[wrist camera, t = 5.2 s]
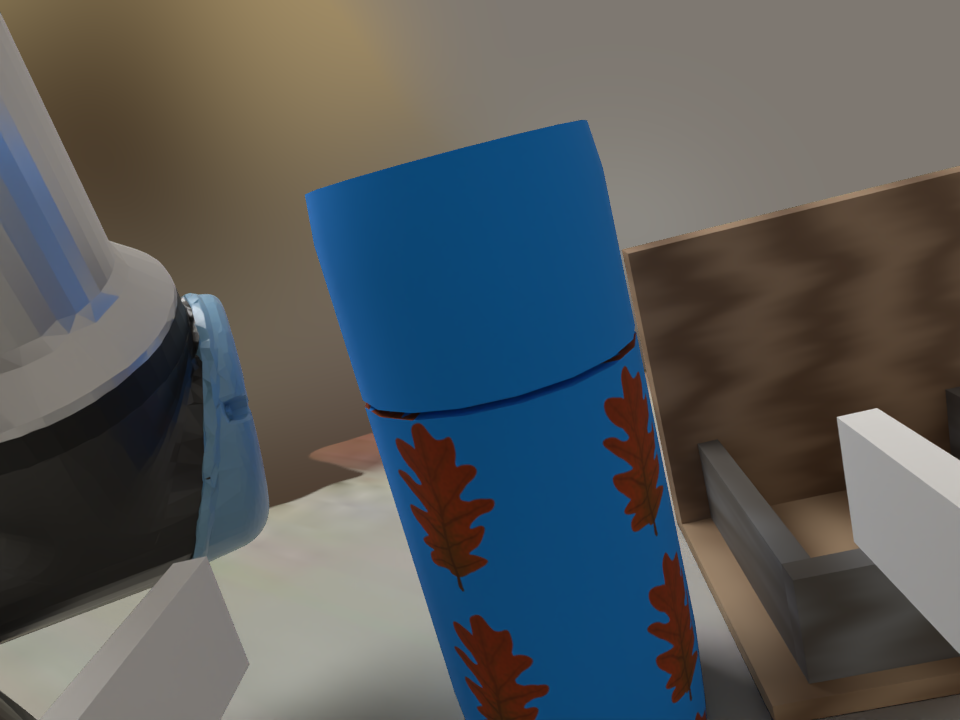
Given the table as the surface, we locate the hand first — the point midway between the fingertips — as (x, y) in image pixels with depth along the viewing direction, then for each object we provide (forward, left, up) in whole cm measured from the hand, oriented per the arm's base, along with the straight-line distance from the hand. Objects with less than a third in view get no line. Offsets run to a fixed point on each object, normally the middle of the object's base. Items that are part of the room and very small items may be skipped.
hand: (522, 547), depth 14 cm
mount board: (+16, +20, -17) cm, 31 cm away
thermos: (-1, +14, -17) cm, 22 cm away
